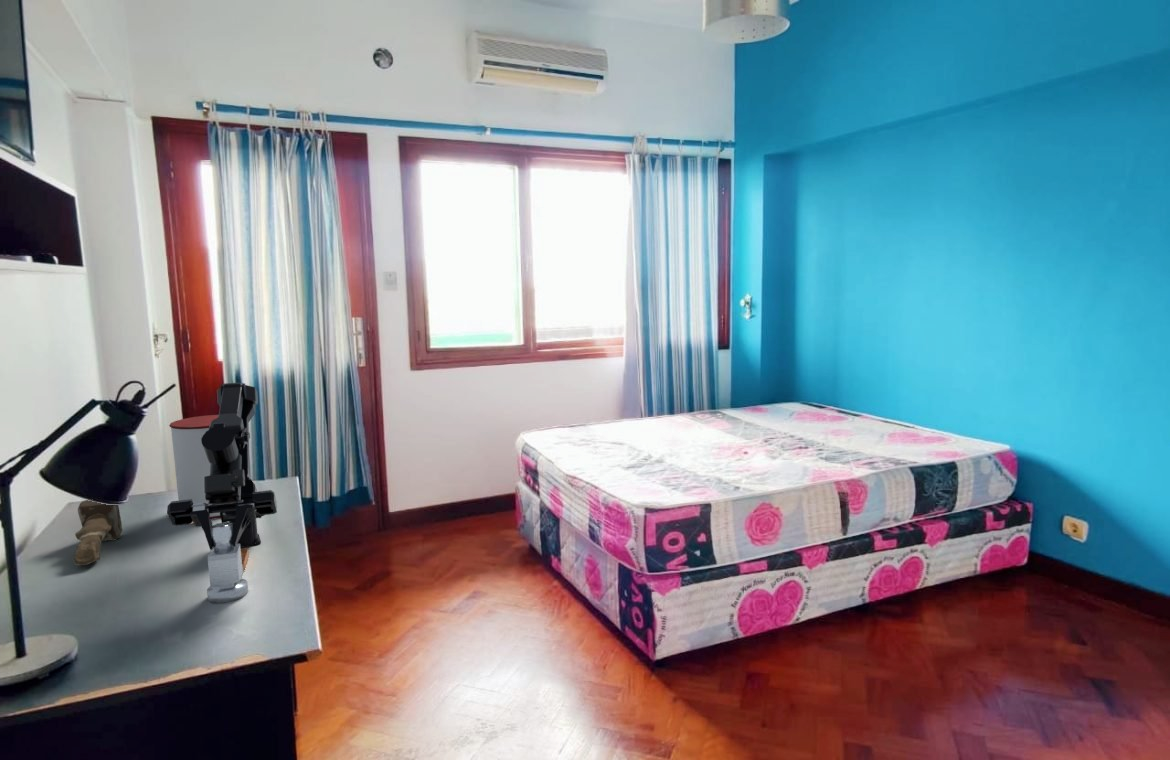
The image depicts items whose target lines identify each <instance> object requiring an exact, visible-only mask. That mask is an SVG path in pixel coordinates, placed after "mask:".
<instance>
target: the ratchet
mask: <svg viewBox="0 0 1170 760" xmlns="http://www.w3.org/2000/svg"><path fill="white" fill-rule="evenodd" d="M248 558H250V552H249V548H241V559H242V570H243V572H244V573H245V571H246V569H247V566H246V565H248V562H249V559H248ZM245 568H246V569H245ZM244 570H245V571H244ZM243 572H242V576H244V573H243ZM242 576H241V579H240V582H237V583H230V584H224V585H217V586H211V587H210V586H208V587H207V589H206V591H207V592H206V595H207V601H208V602H209V603H210V604H214V605H221V604H222V605H223V604H228V603H233V602H236V601H238V600H241V599H243V598H245V597H246V596H247V595H248V594H249V586H248V580H246V579H245V578H243V577H242Z"/></svg>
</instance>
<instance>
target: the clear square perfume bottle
mask: <svg viewBox="0 0 1170 760" xmlns="http://www.w3.org/2000/svg"><path fill="white" fill-rule="evenodd" d="M211 530H212V540H213V549H212V550H210V549H209V553H208V555H207V565H208V566H207V567H208V575H209V577H208V578H209V585H210V586H209V587H211V586H217V585H224V584H230V583H237V582H240V579H241V576H242V572H243V570H242V559H241V549H242V547H240V543H239V544H237V545H236V546H233V526H232V523H231V522H223V523H221V522H218V523H215V524H212V527H211Z"/></svg>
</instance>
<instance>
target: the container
mask: <svg viewBox="0 0 1170 760" xmlns="http://www.w3.org/2000/svg"><path fill="white" fill-rule="evenodd" d="M218 416H219V414H211V415H209V414H208V415H199V416H192V417H186V418H182V419H181V418H180V419H177V420H175V421H173V422H170V424H169V427H170V429H171V430H170V432H171V441H172V450H173V459H174V469H175V477H176V478H175V479H176V489H177V496H178V497H177V498H178V499H177V501H179V500H188V499H192V502H193V504H198V503H206V504H208V500H206V498H205V493H204V477H205V476H210V463H209V461H208V459H207V457H206V454H205V451H204V448H203V445H202V442H201V439H202V437H203V435H204V434H205V432H206V431H208V430H209V426H210V423H211V421H213V420H214V419H216V418H217V417H218ZM215 518H216V519H221V517H220V512H219V513H211V514H210V519H211V520H214V519H215Z"/></svg>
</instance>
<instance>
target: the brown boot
mask: <svg viewBox="0 0 1170 760" xmlns="http://www.w3.org/2000/svg"><path fill="white" fill-rule="evenodd" d="M88 500H89V499H87V500H86V499H85V500H82V501H81V502H80V503H79V505H78V507H77V514H78V517H79V520H80V523H81V524H80V525H81V527H82V528H80V529H79V530H78V531H77V532H75V538H76V539H77V540H79V541H80V542H79V543H78V545H77V546H76V551H75V553H74V555H73V557H74V558H73V560H74V561H73V563H74V564H75V565H77V566H85V565H89V564H92V563H94V562H96V561H98V560H100V559H101V556H100V552H101V550H102V549H103V548H102V542H107V540H113V541H116V540H115V539H117V540H119V539H121V536H122V532H123V525H122V524H123V523H122V518H121V512H120V506H119V504H118V505H106V504H101V503H97V502H92V501H88ZM118 538H119V539H118ZM101 541H102V542H101Z"/></svg>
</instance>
